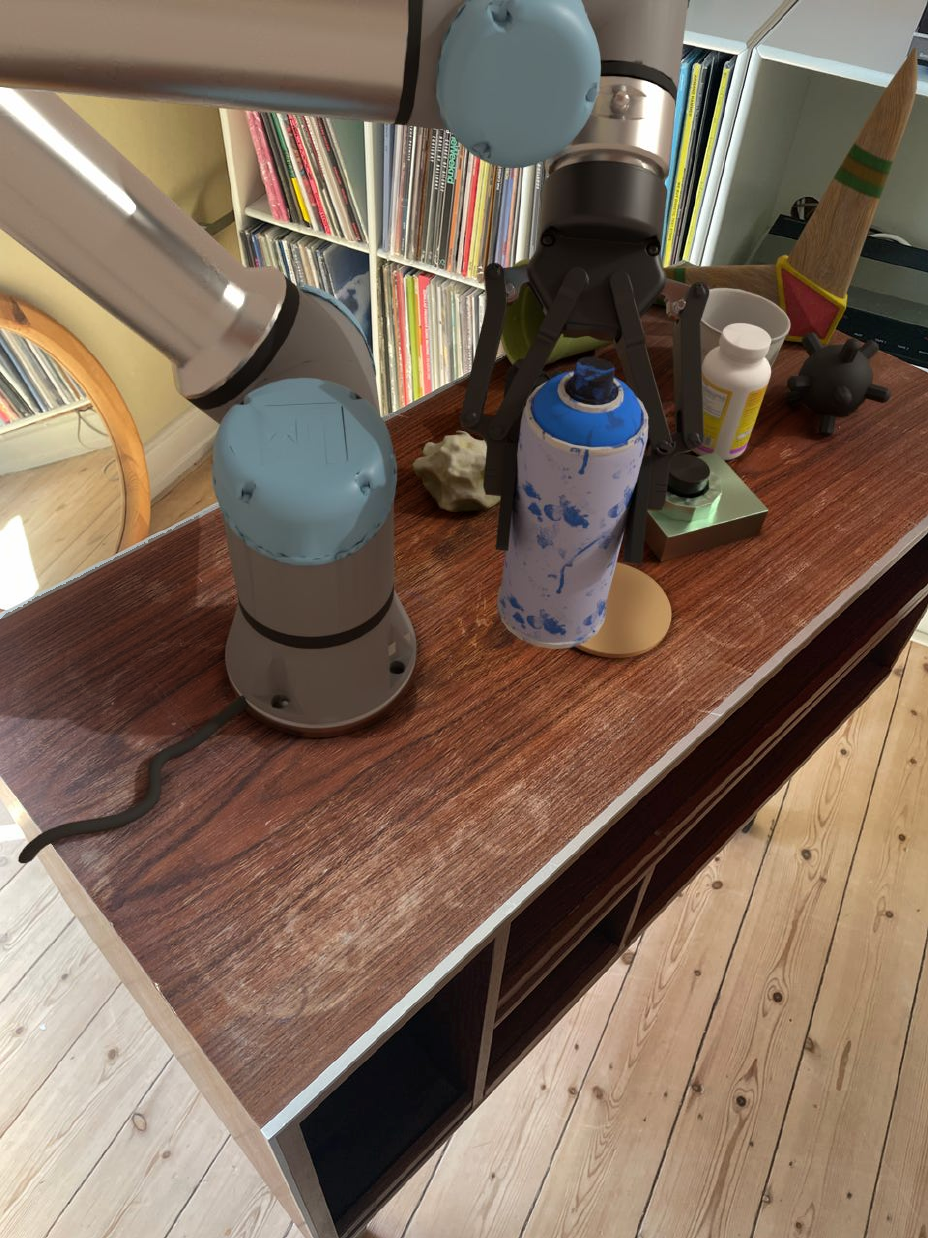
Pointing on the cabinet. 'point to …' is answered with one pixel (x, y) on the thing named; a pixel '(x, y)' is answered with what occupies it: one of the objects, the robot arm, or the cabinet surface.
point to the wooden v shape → (827, 226)
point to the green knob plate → (705, 515)
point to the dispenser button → (687, 476)
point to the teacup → (742, 318)
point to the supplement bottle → (733, 389)
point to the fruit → (456, 473)
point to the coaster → (631, 616)
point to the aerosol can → (570, 504)
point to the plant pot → (525, 325)
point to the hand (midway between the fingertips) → (566, 555)
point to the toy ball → (835, 380)
